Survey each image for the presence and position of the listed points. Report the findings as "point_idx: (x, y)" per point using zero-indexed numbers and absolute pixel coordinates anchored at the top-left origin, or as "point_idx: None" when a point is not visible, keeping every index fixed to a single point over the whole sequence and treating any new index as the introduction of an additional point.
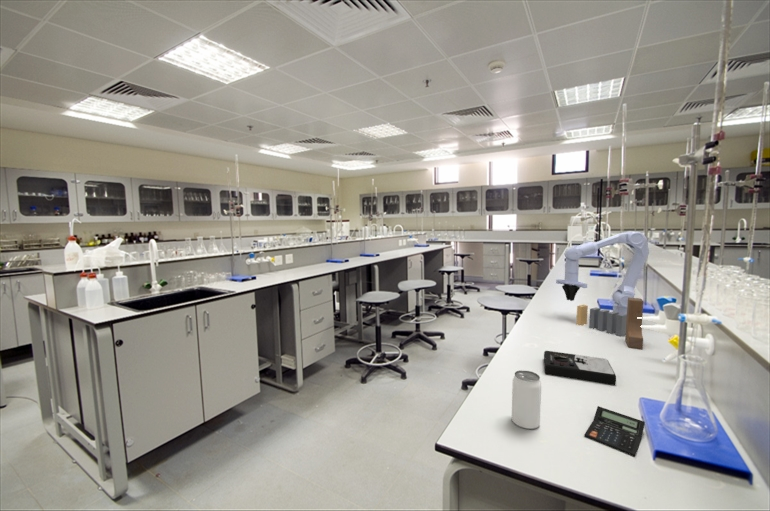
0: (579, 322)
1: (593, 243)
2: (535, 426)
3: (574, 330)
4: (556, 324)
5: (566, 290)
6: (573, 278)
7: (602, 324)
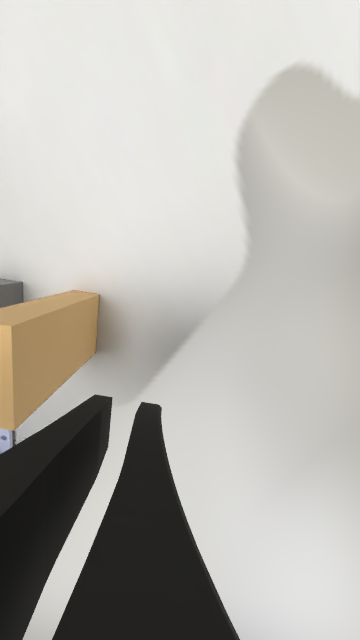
0: (73, 294)
1: None
2: None
3: (35, 147)
4: (174, 185)
5: (99, 558)
6: None
7: None
